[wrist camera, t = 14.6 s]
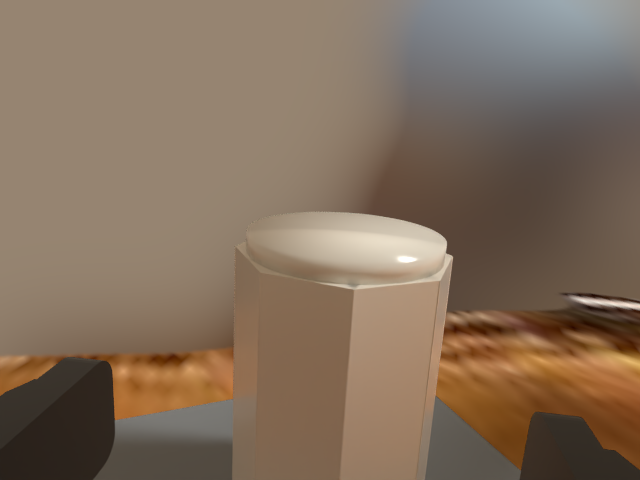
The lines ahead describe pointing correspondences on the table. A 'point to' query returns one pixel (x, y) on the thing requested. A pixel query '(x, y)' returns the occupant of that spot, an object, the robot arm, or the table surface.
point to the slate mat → (217, 447)
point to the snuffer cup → (336, 347)
